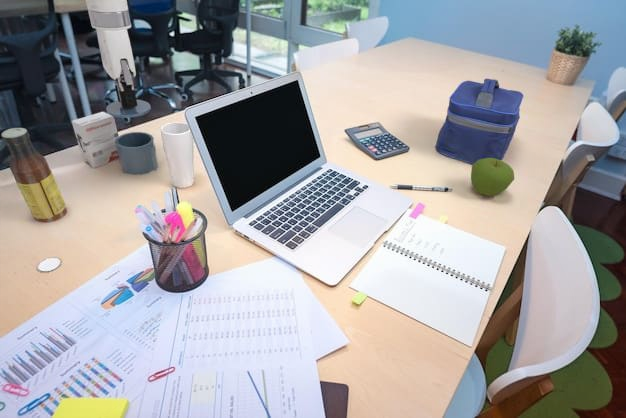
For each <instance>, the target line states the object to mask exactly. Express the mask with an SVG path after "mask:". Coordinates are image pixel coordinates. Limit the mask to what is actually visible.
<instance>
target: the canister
mask: <svg viewBox="0 0 626 418" xmlns="http://www.w3.org/2000/svg"><path fill="white" fill-rule="evenodd" d="M115 144H116V149H117V153H116V154H117V155H118V157H119V159H118V161H119V165H120V169H121V171H122V173H123V174H128V175H134V176H135V175H145V174H150V173H151V172H153V171H154V172H156V171H157V170H158V169H159V159H158V155H157V149H156V143H155V137H154V136H153V135H152V134H151V133H148V132H143V131H131V132H126V133H124V134H123V133H122V134H121V135H119V137H118V138H116V140H115Z"/></svg>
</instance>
